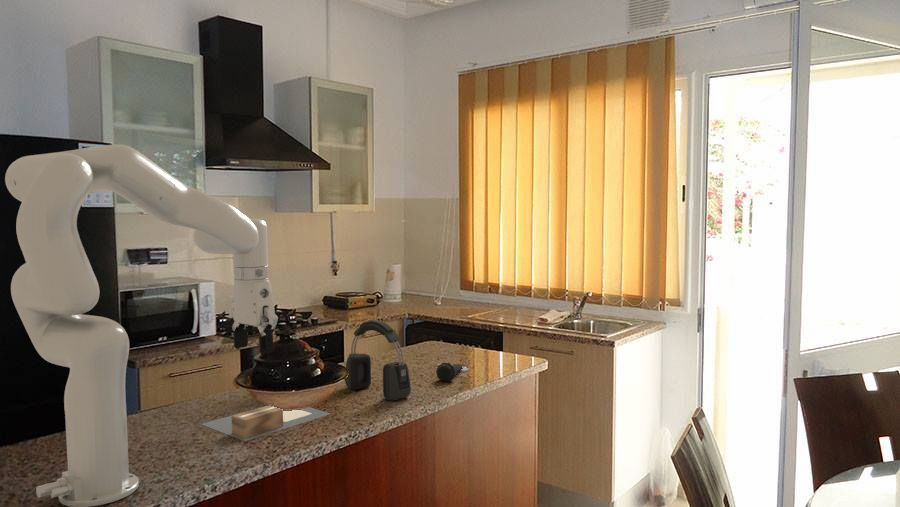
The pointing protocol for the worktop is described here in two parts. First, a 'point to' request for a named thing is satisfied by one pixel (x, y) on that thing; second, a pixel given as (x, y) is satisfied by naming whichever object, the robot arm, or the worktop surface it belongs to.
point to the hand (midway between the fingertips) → (253, 349)
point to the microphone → (447, 371)
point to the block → (257, 421)
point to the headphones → (393, 373)
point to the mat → (288, 421)
